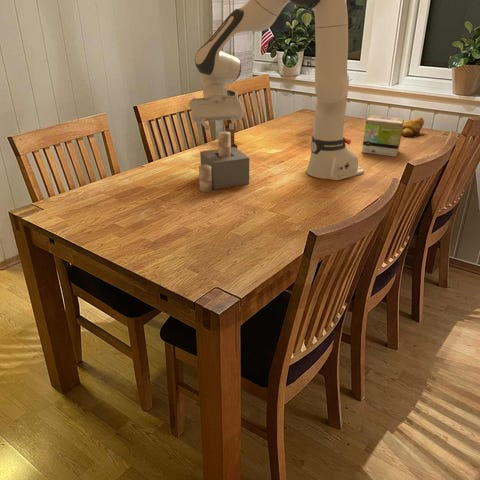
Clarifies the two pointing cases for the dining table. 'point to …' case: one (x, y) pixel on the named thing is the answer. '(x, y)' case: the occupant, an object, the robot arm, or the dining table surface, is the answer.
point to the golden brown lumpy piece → (412, 126)
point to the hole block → (227, 168)
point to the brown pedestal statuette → (230, 134)
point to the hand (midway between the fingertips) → (219, 129)
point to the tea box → (382, 135)
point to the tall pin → (224, 144)
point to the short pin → (205, 178)
